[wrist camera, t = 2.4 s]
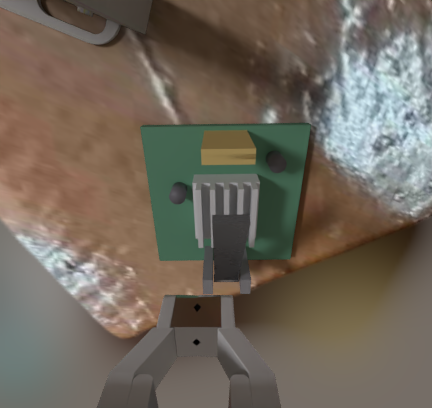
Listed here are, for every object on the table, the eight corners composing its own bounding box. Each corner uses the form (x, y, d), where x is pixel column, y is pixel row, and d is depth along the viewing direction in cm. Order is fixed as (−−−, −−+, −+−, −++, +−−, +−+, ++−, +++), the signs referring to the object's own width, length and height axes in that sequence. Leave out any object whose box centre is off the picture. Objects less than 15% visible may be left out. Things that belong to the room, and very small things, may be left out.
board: (307, 123, 31) (340, 141, 23) (288, 254, 40) (306, 301, 32) (142, 125, 31) (117, 144, 23) (161, 255, 40) (147, 302, 32)
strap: (250, 213, 21) (251, 224, 20) (237, 275, 35) (238, 282, 34) (211, 213, 21) (211, 224, 20) (214, 275, 35) (214, 282, 34)
